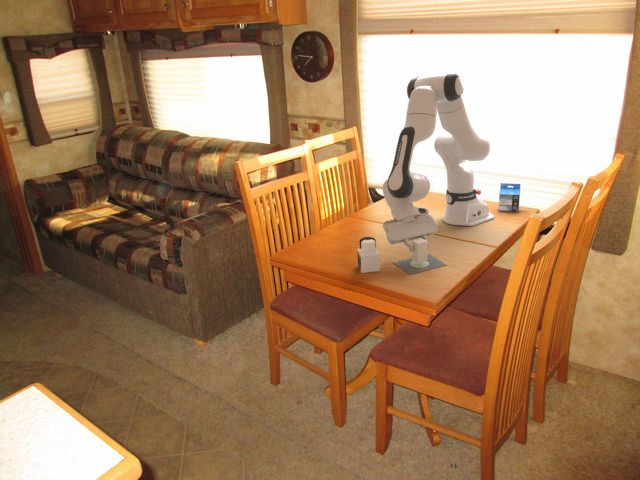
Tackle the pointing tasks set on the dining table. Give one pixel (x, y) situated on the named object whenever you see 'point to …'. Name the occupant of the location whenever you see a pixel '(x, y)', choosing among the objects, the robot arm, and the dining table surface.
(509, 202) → the label tape cartridge
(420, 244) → the white block
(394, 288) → the dining table surface
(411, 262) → the slate pad
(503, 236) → the dining table surface
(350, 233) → the dining table surface
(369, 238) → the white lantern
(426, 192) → the robot arm
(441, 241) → the dining table surface
